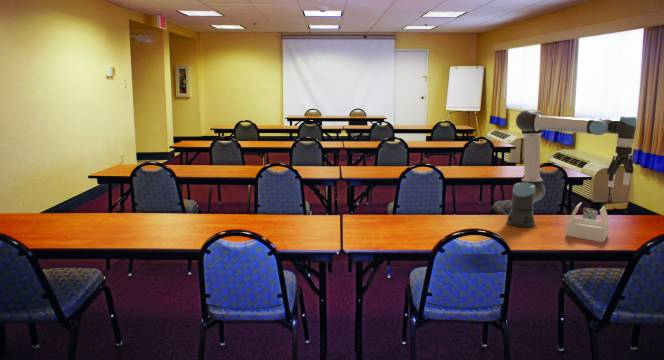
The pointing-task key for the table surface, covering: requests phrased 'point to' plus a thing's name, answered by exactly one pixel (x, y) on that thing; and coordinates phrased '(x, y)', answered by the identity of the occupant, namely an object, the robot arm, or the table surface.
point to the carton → (587, 229)
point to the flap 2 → (604, 216)
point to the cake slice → (590, 213)
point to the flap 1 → (574, 211)
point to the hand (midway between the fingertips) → (618, 185)
